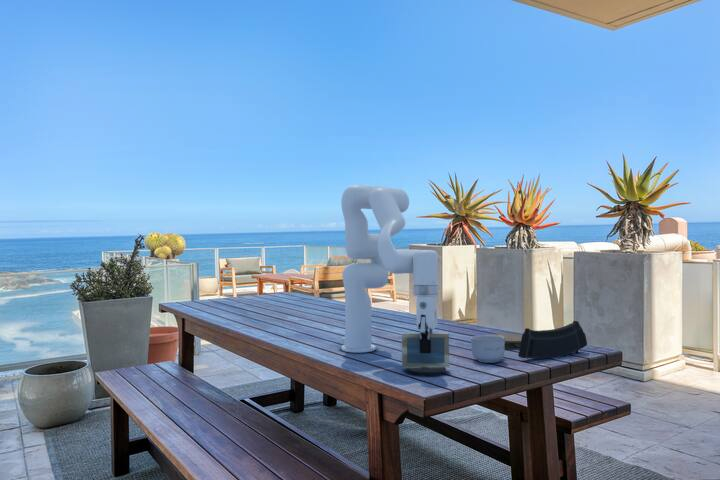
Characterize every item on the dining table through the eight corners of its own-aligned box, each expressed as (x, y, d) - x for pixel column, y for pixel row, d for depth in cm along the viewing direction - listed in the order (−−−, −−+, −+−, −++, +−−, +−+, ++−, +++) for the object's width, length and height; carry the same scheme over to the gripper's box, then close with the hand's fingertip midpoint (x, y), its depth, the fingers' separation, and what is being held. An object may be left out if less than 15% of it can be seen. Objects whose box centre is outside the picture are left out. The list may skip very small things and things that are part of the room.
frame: (401, 363, 155) (401, 331, 155) (446, 363, 155) (446, 330, 155) (402, 367, 150) (402, 333, 150) (449, 367, 150) (449, 333, 150)
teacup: (486, 366, 157) (486, 340, 157) (463, 359, 166) (463, 335, 167) (519, 361, 163) (519, 337, 163) (495, 355, 173) (495, 332, 173)
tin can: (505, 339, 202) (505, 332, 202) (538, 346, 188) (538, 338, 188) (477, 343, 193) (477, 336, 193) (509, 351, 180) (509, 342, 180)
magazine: (519, 335, 161) (579, 302, 175) (512, 333, 164) (571, 301, 178) (531, 384, 163) (589, 348, 177) (523, 381, 166) (581, 346, 180)
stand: (397, 370, 152) (397, 366, 152) (425, 364, 160) (425, 361, 160) (425, 378, 143) (425, 374, 143) (454, 372, 150) (454, 368, 150)
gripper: (434, 293, 143) (434, 358, 142) (442, 288, 158) (442, 347, 158) (408, 292, 145) (408, 356, 144) (418, 288, 160) (419, 346, 160)
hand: (426, 351), depth 151 cm, fingers closed on frame, 2 cm apart
